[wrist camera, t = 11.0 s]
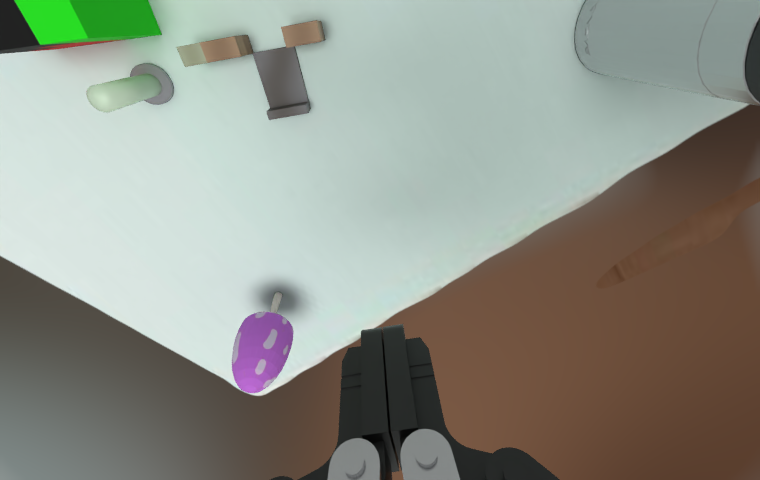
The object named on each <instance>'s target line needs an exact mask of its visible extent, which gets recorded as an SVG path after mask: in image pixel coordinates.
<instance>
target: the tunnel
mask: <svg viewBox="0 0 760 480" xmlns="http://www.w3.org/2000/svg"><path fill="white" fill-rule="evenodd" d="M281 29H282V33H283V36H284V40H285V44H286V47H284V48H278V49H273V50H268V51H262V52H257V53H253V50H252V47H251V44H250V41H249V38H248V35H242V36H232V37H227V38H222V39H217V40H211V41H206V42H201V43H196V44H190V45H185V46H180V47H177V50H178V52H179V54H180V57H181V59H182V61H183V64H184V66H185V67H188V66H193V65H198V64H203V63H209V62H214V61H219V60H225V59H230V58H235V57H241V56H245V55H248V54H252V53H253V56H254V59H255V62H256V65H257V68H258V71H259V75H260V78H261V81H262V84H263V87H264V90H265V93H266V96H267V99H268V102H269V106H270V109H269V110H268V111H267V115H268V118H269V120H272V119H277V118H283V117H289V116H294V115H300V114H305V113H309V111H310V109H311V108H310V104H309V100H308V97H307V93H306V89H305V85H304V81H303V77H302V73H301V70H300V66H299V62H298V58H297V54H296V50H295V46H299V45H305V44H310V43H315V42H321V41H323V40H325V37H324V32H323V27H322V23H321V21H317V20H316V21H311V22H306V23H301V24H295V25H290V26H285V27H281Z"/></svg>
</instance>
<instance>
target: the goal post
mask: <svg viewBox="0 0 760 480" xmlns="http://www.w3.org/2000/svg"><path fill="white" fill-rule="evenodd" d="M173 92H174V88H173V83H172V81H171V79H170V77H169V76H168V74H167V73H166V72H165V71H164V70H163V69H161V68H160V67H158V66H156V65H153V64H148V63H146V64H140V65H137V66H135V67H134V68H133V70H132V71H131V74H130V77H128V78H124V79H119V80H115V81H111V82H106V83H102V84H97V85H93V86H90V87H89V88H88V90H87V98H88V100H89V102H90V103H91V105H92V106H93V107H94V108H96V109H97V110H99V111H101V112H111V111H114V110H117V109H120V108H123V107H126V106H129V105H132V104H134V103H137V102H140V101H143V100H144V101H146V102H148V103H151V104H155V105H159V104H163V103H166V102H168V101H169V100H170V99H171V98H172V96H173Z"/></svg>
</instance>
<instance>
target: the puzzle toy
mask: <svg viewBox="0 0 760 480" xmlns="http://www.w3.org/2000/svg"><path fill="white" fill-rule="evenodd" d="M155 35H162V34H161V31H160V29H159V26H158V24H157V21H156V19H155V16H154V14H153V11H152V9H151V7H150V4H149V2H148V0H0V54H2V53H15V52H27V51H40V50H52V49H61V48H68V47H75V46H83V45H90V44H97V43H104V42H112V41H119V40H126V39H133V38H141V37H148V36H155Z"/></svg>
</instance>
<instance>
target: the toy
mask: <svg viewBox="0 0 760 480" xmlns="http://www.w3.org/2000/svg"><path fill="white" fill-rule="evenodd" d="M281 298H282V294H281V293H279V292H277V293H275V294H274V298H273V302H272V305H271V309H270V312H258V313H255V314H252V315H250V316H248V317H247V318H246V319H245V320H244V321H243V323H242V325H241V326H240V328H239V331H238V333H237V336H236V339H235V343H234V347H233V355H232V371H233V375H234V379H235V381H236V383H237V385H238V386H239V388H240V389H241V390H243V391H245V392H248V393H256V392H260V391H262V390H263V389H265V388H266V387H268V386H269V385H270V384H271V383H272V382H273V381H274V380H275V379H276V378H277V376H278V375H279V373H280V372H281V370H282V368H283V366H284V364H285V362H286V360H287V358H288V355H289V352H290V349H291V345H292V341H293V328H292V325H291V324H290V322H289V321H288V320H287V319H286V318H284V317H283V316H281V315H278V314H276V313H277V310H278V307H279V305H280V302H281Z"/></svg>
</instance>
